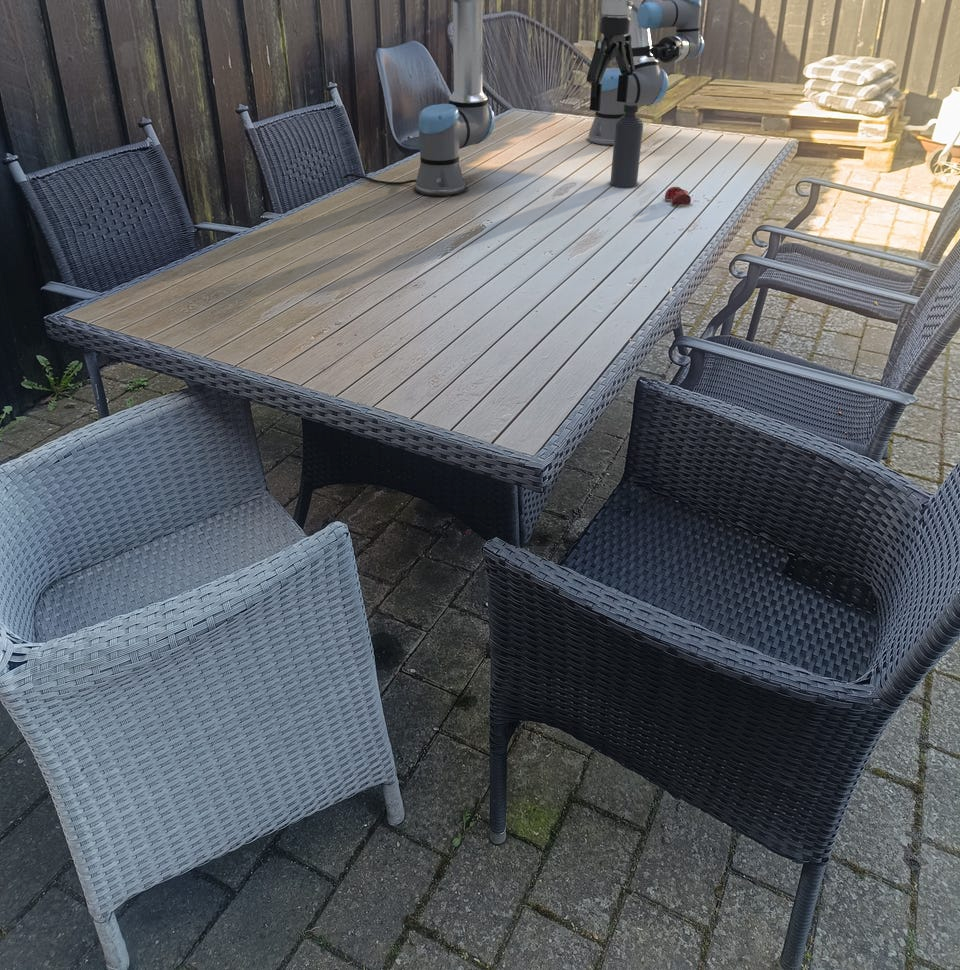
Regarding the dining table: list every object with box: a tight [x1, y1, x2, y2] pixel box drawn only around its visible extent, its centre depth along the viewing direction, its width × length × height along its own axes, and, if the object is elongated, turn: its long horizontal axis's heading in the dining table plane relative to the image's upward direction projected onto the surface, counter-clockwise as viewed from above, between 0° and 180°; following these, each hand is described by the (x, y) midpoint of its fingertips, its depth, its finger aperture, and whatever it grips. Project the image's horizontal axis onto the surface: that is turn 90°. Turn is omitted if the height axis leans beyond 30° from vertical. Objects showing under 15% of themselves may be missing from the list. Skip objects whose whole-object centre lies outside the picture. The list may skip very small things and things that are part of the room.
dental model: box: [664, 186, 692, 206], centre depth 247 cm, size 6×4×8 cm
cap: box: [623, 103, 639, 113], centre depth 251 cm, size 4×4×2 cm
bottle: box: [609, 112, 644, 189], centre depth 257 cm, size 8×8×23 cm
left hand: (608, 106), depth 226 cm, fingers open, 13 cm apart
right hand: (636, 54), depth 259 cm, fingers open, 13 cm apart
